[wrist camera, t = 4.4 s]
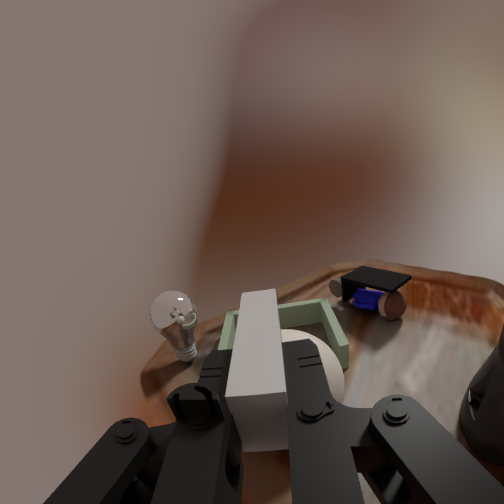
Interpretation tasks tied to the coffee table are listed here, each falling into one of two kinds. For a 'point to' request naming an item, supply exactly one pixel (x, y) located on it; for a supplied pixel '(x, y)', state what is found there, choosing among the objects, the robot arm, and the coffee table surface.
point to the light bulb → (176, 322)
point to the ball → (328, 361)
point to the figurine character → (387, 281)
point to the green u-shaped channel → (296, 317)
